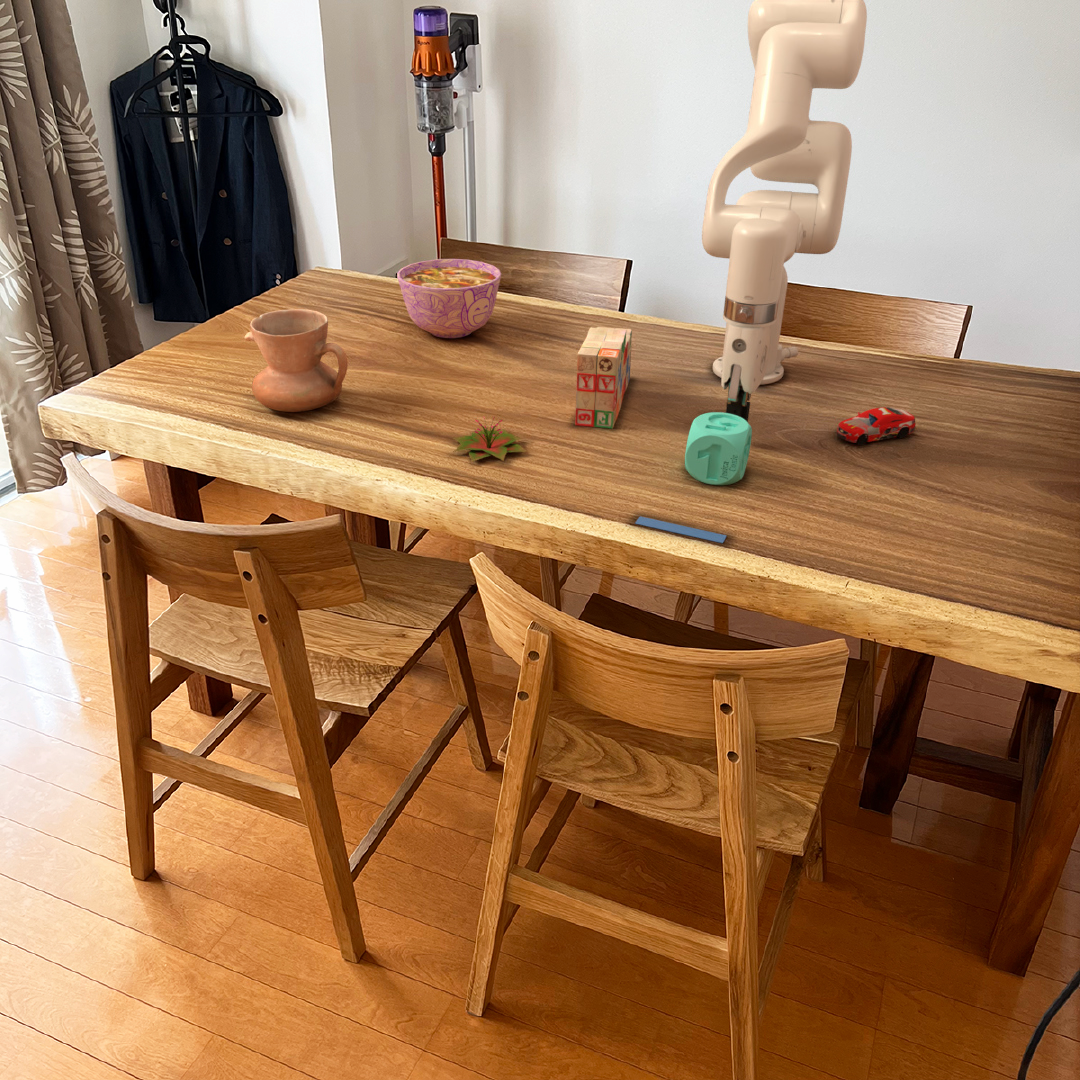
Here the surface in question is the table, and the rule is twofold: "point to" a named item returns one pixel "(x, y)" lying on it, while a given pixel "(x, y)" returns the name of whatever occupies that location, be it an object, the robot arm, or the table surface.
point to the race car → (876, 425)
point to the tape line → (681, 529)
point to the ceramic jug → (295, 360)
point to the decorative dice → (718, 448)
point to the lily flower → (489, 443)
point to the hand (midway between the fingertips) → (735, 426)
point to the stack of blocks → (602, 376)
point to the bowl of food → (449, 295)
